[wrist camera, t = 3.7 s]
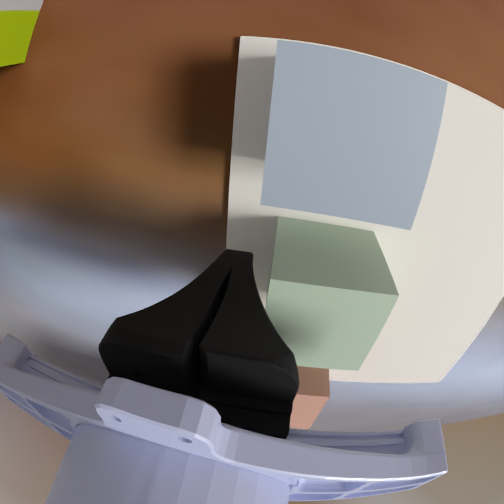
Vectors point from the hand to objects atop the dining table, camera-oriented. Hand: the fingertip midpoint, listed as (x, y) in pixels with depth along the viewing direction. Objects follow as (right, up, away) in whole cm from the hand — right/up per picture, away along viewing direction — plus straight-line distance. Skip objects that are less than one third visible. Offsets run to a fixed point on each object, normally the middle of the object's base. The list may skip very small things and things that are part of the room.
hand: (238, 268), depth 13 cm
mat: (+8, 0, +1) cm, 8 cm away
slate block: (+4, +6, -3) cm, 8 cm away
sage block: (+4, 0, +1) cm, 4 cm away
